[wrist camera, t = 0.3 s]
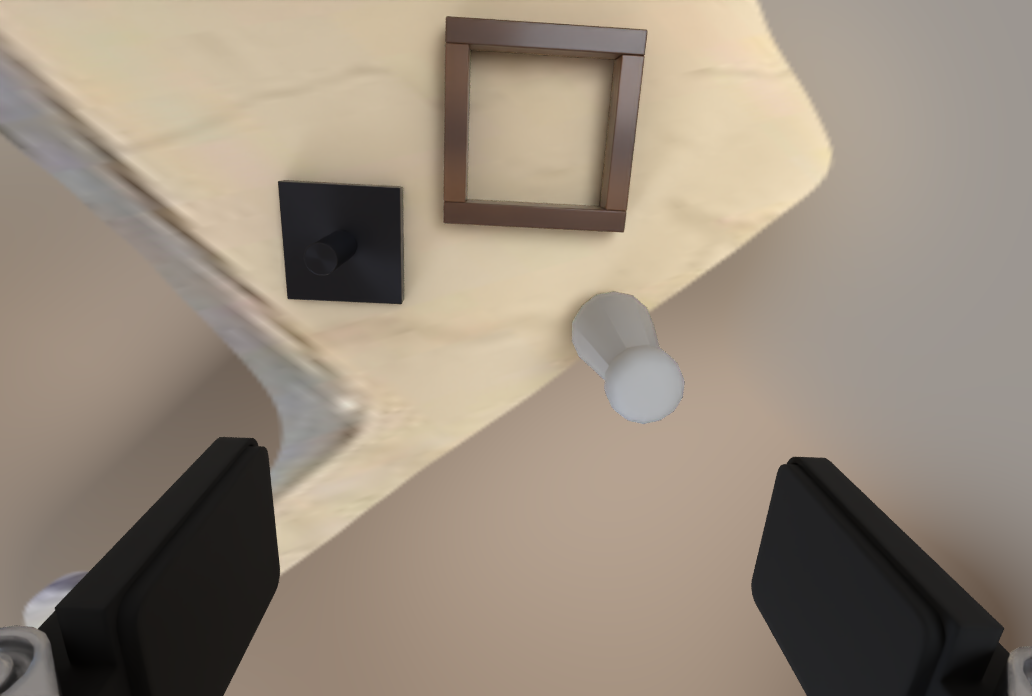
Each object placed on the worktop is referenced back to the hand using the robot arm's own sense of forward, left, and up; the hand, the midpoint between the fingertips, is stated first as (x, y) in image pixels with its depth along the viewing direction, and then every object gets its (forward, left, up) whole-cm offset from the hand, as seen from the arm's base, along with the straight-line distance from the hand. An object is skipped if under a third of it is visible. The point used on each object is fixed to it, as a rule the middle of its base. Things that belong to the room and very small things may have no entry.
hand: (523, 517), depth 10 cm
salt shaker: (+6, +8, -32) cm, 34 cm away
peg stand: (+1, -11, -32) cm, 34 cm away
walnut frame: (-7, +2, -32) cm, 33 cm away
